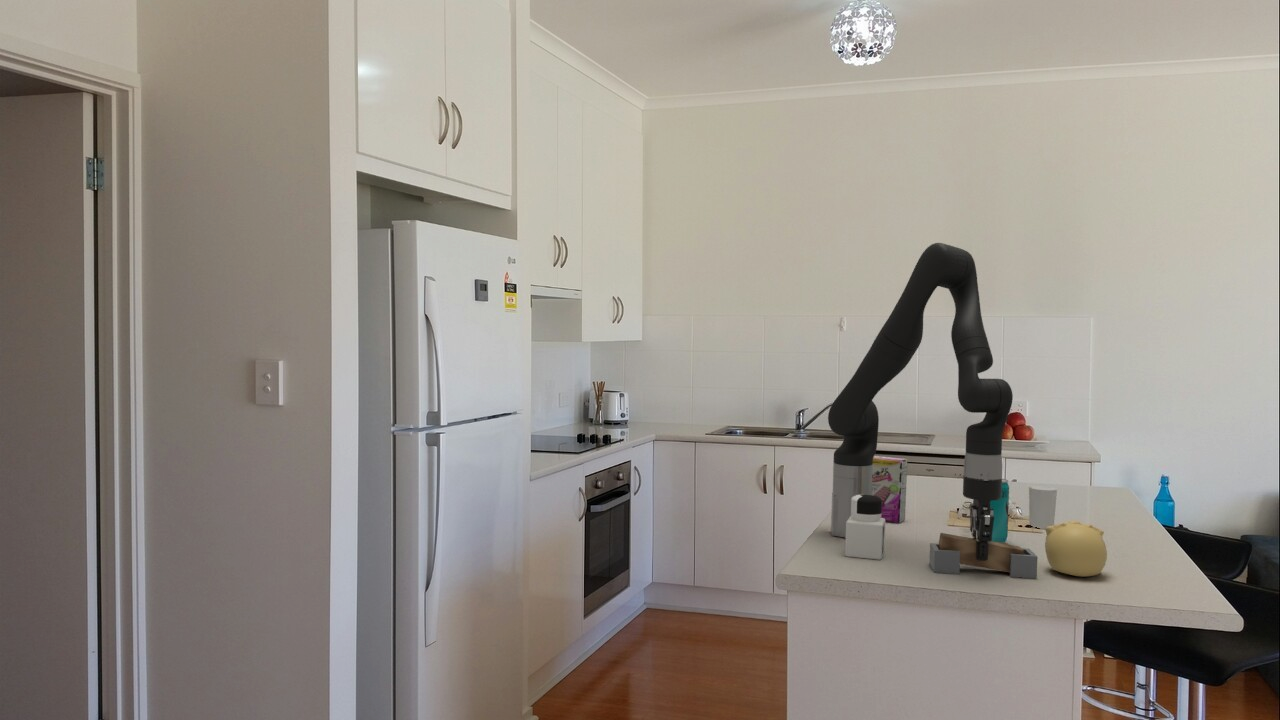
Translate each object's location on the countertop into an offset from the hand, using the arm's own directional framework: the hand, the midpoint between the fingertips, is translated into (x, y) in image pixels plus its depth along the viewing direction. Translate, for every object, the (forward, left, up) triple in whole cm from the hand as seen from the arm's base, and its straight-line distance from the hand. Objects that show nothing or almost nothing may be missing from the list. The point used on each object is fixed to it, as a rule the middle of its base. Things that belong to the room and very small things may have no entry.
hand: (979, 557), depth 199 cm
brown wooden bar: (0, 0, -2) cm, 2 cm away
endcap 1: (-7, 0, -3) cm, 8 cm away
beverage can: (+8, +29, -3) cm, 30 cm away
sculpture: (+19, +3, -3) cm, 20 cm away
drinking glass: (+24, +52, -3) cm, 57 cm away
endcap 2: (+8, 0, -3) cm, 8 cm away
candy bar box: (-16, +50, -3) cm, 52 cm away
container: (-23, +9, -3) cm, 25 cm away
